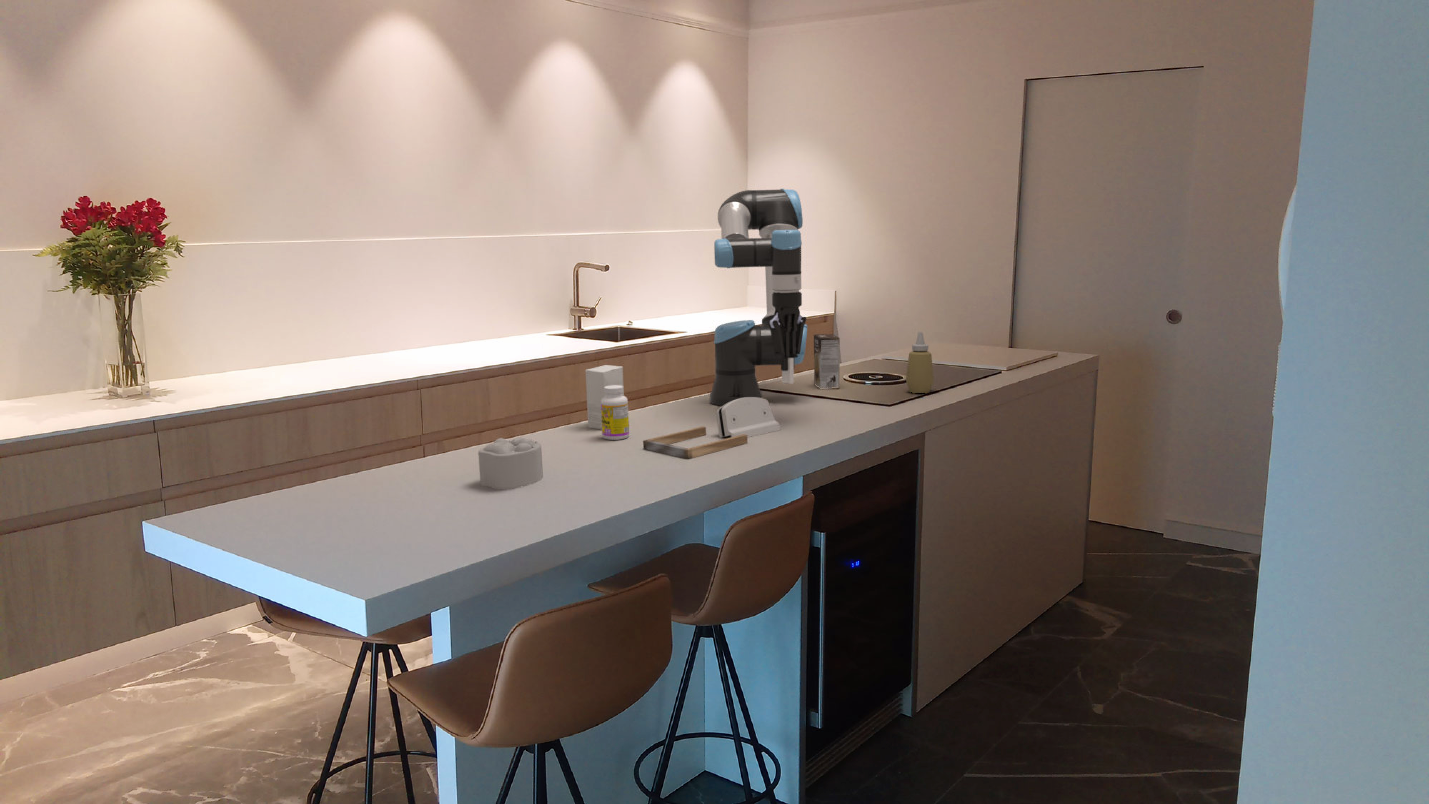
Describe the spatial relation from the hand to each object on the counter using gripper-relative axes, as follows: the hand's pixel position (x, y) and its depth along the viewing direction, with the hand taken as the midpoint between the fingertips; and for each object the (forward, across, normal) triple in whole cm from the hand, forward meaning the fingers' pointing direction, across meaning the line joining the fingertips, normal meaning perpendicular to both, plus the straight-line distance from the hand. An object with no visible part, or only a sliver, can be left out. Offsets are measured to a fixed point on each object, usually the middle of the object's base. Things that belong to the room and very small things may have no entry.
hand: (787, 382), depth 248 cm
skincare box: (+11, -33, +34) cm, 49 cm away
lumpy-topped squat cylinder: (+12, -79, +8) cm, 80 cm away
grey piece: (+11, -16, 0) cm, 19 cm away
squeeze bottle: (+10, +56, -4) cm, 57 cm away
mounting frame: (+11, -34, 0) cm, 35 cm away
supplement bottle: (+11, -40, +22) cm, 47 cm away
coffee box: (+10, +47, +24) cm, 54 cm away
